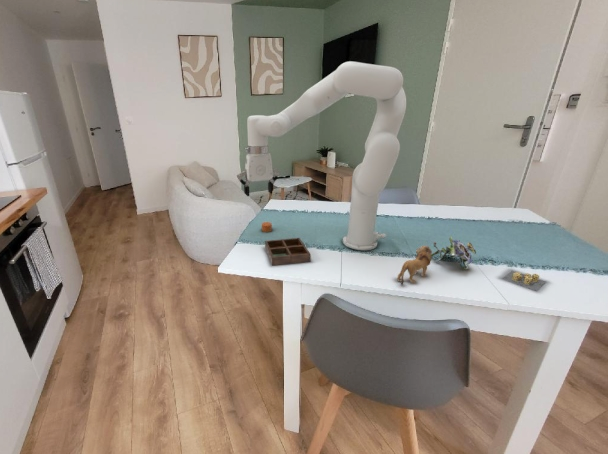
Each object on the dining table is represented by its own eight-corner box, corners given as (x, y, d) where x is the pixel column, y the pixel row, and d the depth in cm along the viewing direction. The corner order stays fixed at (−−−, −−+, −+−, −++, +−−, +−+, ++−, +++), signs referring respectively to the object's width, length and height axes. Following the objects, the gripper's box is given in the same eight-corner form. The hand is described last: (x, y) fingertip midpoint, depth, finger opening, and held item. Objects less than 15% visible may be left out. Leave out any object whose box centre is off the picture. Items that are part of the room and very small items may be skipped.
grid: (299, 244, 115) (299, 237, 114) (310, 261, 102) (310, 254, 101) (264, 248, 114) (264, 240, 112) (271, 265, 101) (271, 257, 100)
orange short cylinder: (270, 227, 132) (270, 221, 131) (272, 231, 128) (272, 225, 127) (261, 228, 131) (261, 222, 130) (262, 232, 127) (262, 226, 126)
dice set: (538, 280, 86) (540, 275, 85) (531, 286, 83) (534, 281, 83) (516, 273, 90) (518, 268, 89) (509, 279, 87) (511, 273, 87)
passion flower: (460, 282, 96) (479, 268, 86) (424, 271, 99) (438, 256, 89) (463, 253, 101) (482, 237, 90) (429, 243, 104) (443, 226, 94)
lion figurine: (414, 265, 97) (419, 241, 93) (431, 272, 93) (437, 246, 89) (392, 283, 88) (397, 257, 85) (411, 290, 84) (416, 263, 81)
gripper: (238, 153, 104) (240, 199, 110) (283, 149, 108) (282, 194, 115) (233, 150, 110) (235, 194, 117) (275, 147, 115) (275, 189, 121)
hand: (259, 194), depth 116 cm, fingers open, 9 cm apart
